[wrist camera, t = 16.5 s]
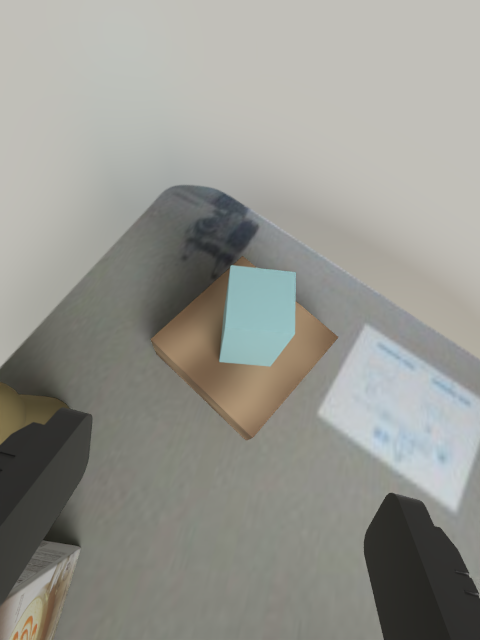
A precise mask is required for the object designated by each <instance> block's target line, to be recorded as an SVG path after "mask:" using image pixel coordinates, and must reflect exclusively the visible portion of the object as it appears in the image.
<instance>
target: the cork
mask: <svg viewBox="0 0 480 640" xmlns="http://www.w3.org/2000/svg"><path fill="white" fill-rule="evenodd" d="M62 407H64V408H68V409H69V407H68V406H67V405H66V404H65V403H64V402H62V401H60V400H59V399H57V398H52V397H47V396H35V395H22V394H18V393H17V392H16V391H15V390H14V389H13V388H11V387H10V386H8V385H6V384H4V383H2V382H0V445H1V444H2V443H3V442H4V441H5V440H6V439H7V438H8V437H9V436H10V435H11V434H12V433H14V432H16V431H18V430H19V429H21V428H23V427H25V426H27V425H29V424H31V423H33V422H36V423H40V424H44V425H45V424H46V422H47V421H48V420H49V419H50V418H51V417H52V416H53V415H54V414H55V413H56V412H57V411H58V410H59V409H60V408H62Z"/></svg>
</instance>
